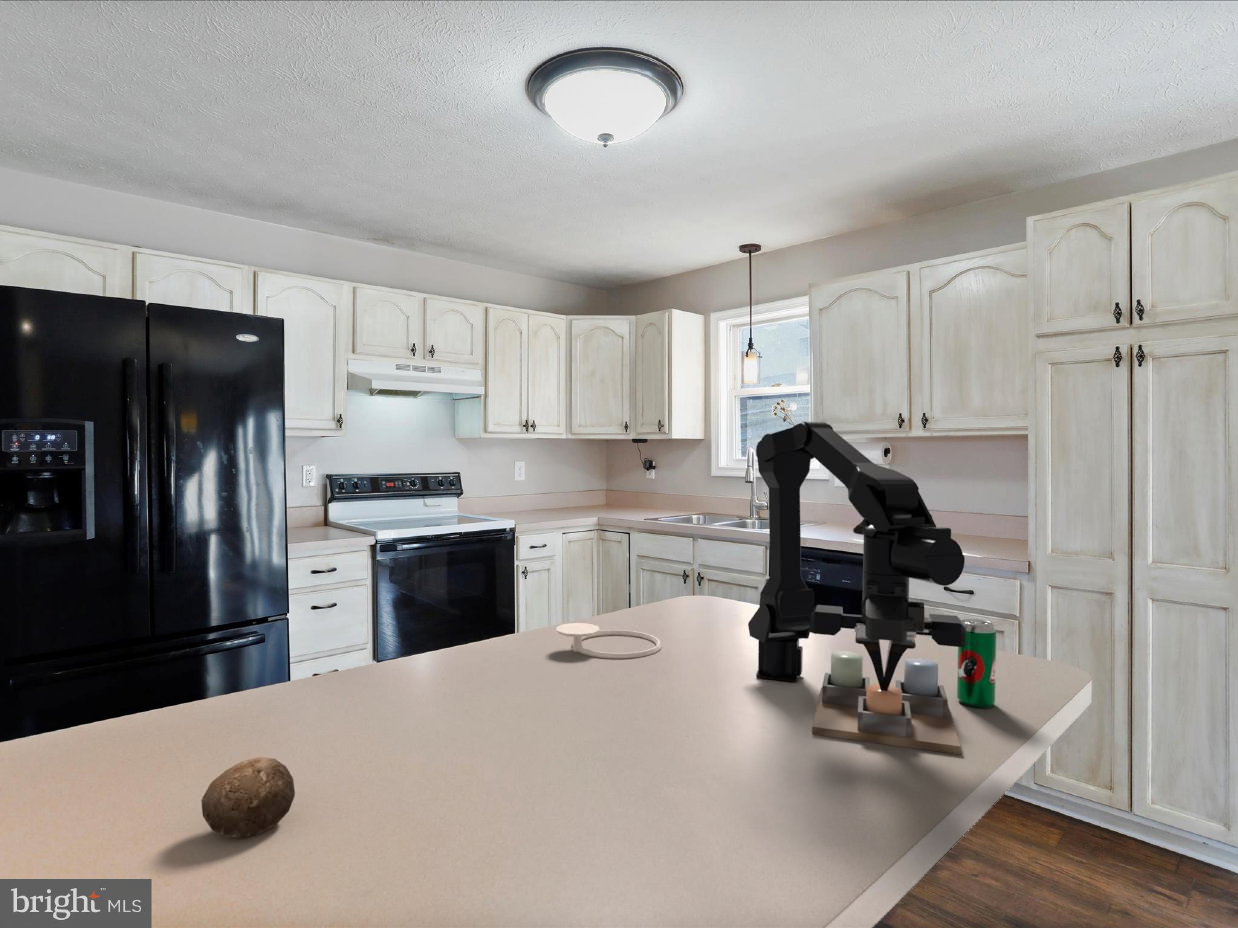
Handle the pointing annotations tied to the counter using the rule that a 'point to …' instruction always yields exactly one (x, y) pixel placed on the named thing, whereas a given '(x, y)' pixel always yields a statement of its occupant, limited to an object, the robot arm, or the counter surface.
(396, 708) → the counter surface
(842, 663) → the sage button
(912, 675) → the slate-blue button
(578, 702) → the counter surface
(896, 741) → the walnut button board
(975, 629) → the soda can
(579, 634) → the hand towel holder
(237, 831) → the brown speckled pebble
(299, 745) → the counter surface
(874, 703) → the terracotta button
